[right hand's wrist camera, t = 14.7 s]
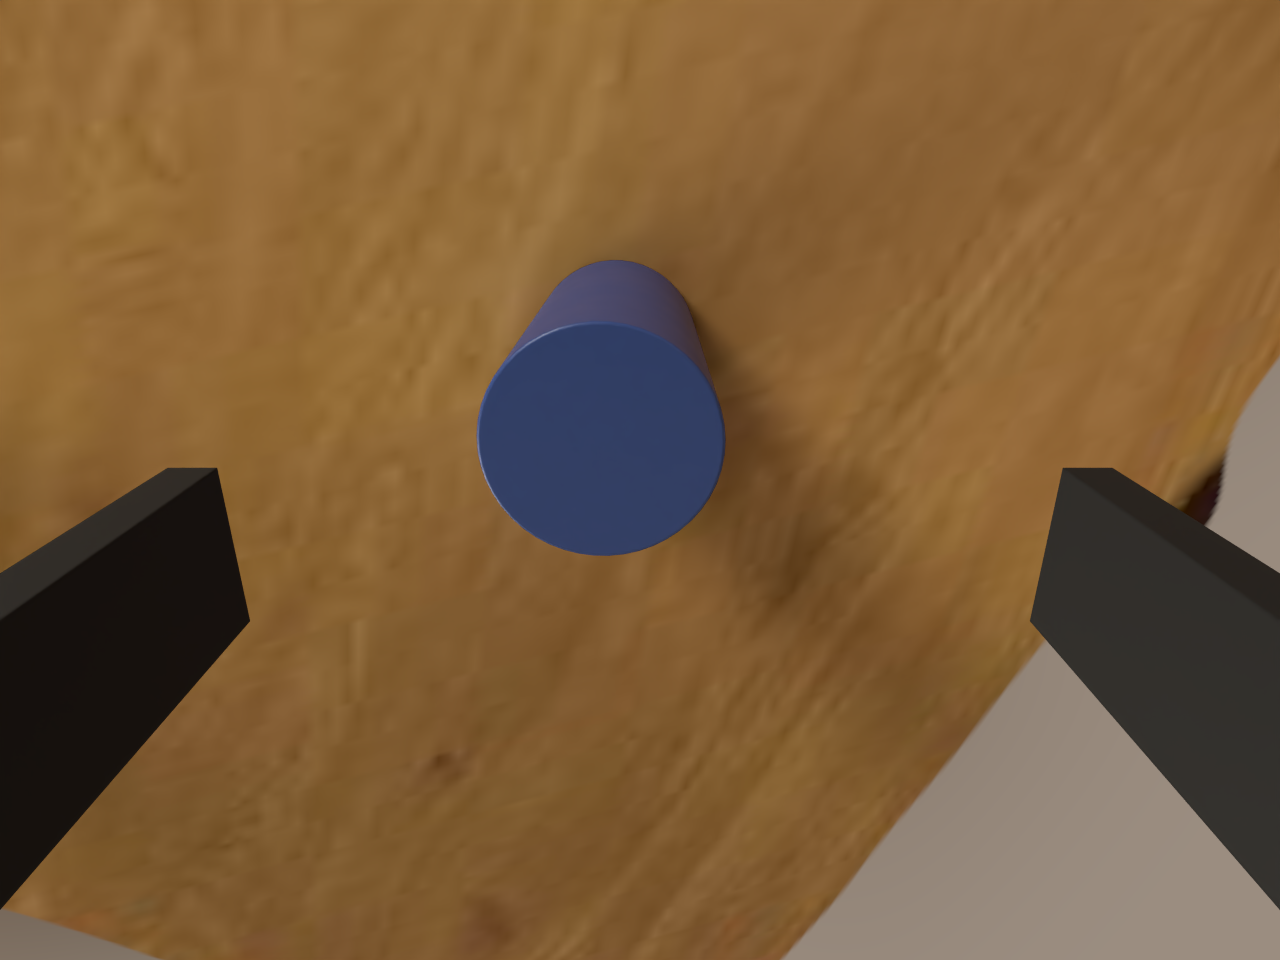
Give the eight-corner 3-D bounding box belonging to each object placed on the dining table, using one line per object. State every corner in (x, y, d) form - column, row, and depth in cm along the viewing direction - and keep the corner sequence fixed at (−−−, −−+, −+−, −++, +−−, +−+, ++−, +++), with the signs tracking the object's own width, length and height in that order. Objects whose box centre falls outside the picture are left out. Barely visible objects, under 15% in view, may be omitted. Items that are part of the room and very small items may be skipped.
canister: (727, 335, 28) (777, 438, 17) (622, 445, 29) (612, 599, 19) (609, 224, 26) (588, 265, 16) (505, 346, 28) (425, 454, 18)
